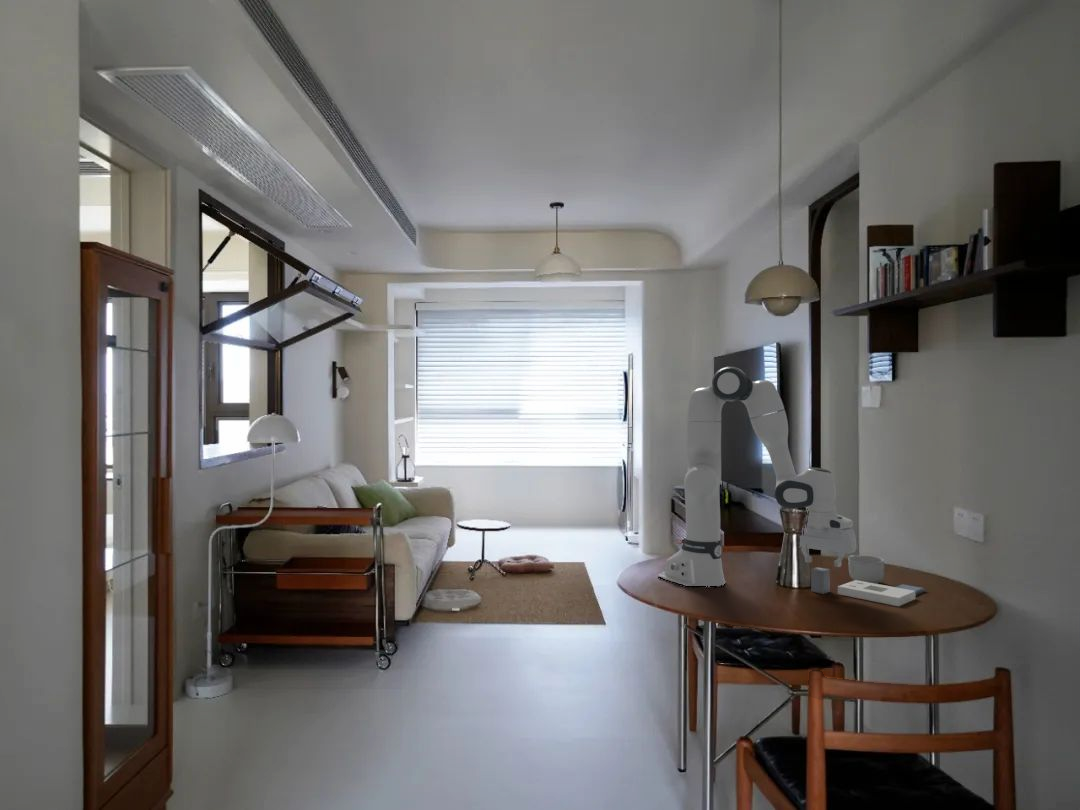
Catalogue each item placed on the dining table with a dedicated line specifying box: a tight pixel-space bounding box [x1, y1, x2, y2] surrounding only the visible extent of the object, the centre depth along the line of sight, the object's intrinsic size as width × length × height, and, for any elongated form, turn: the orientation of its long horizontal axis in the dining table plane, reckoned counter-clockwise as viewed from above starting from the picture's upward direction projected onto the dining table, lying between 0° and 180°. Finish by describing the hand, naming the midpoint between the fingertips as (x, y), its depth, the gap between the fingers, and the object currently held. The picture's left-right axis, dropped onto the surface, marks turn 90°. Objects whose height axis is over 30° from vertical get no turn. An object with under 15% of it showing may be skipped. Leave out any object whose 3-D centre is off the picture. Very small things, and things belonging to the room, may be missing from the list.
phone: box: [895, 583, 926, 597], centre depth 219 cm, size 7×11×1 cm, turn 131°
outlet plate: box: [837, 580, 916, 607], centre depth 214 cm, size 18×12×2 cm, turn 41°
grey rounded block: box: [847, 554, 885, 584], centre depth 233 cm, size 14×11×8 cm
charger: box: [810, 566, 831, 595], centre depth 220 cm, size 4×4×7 cm
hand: (822, 564), depth 220 cm, fingers open, 8 cm apart
